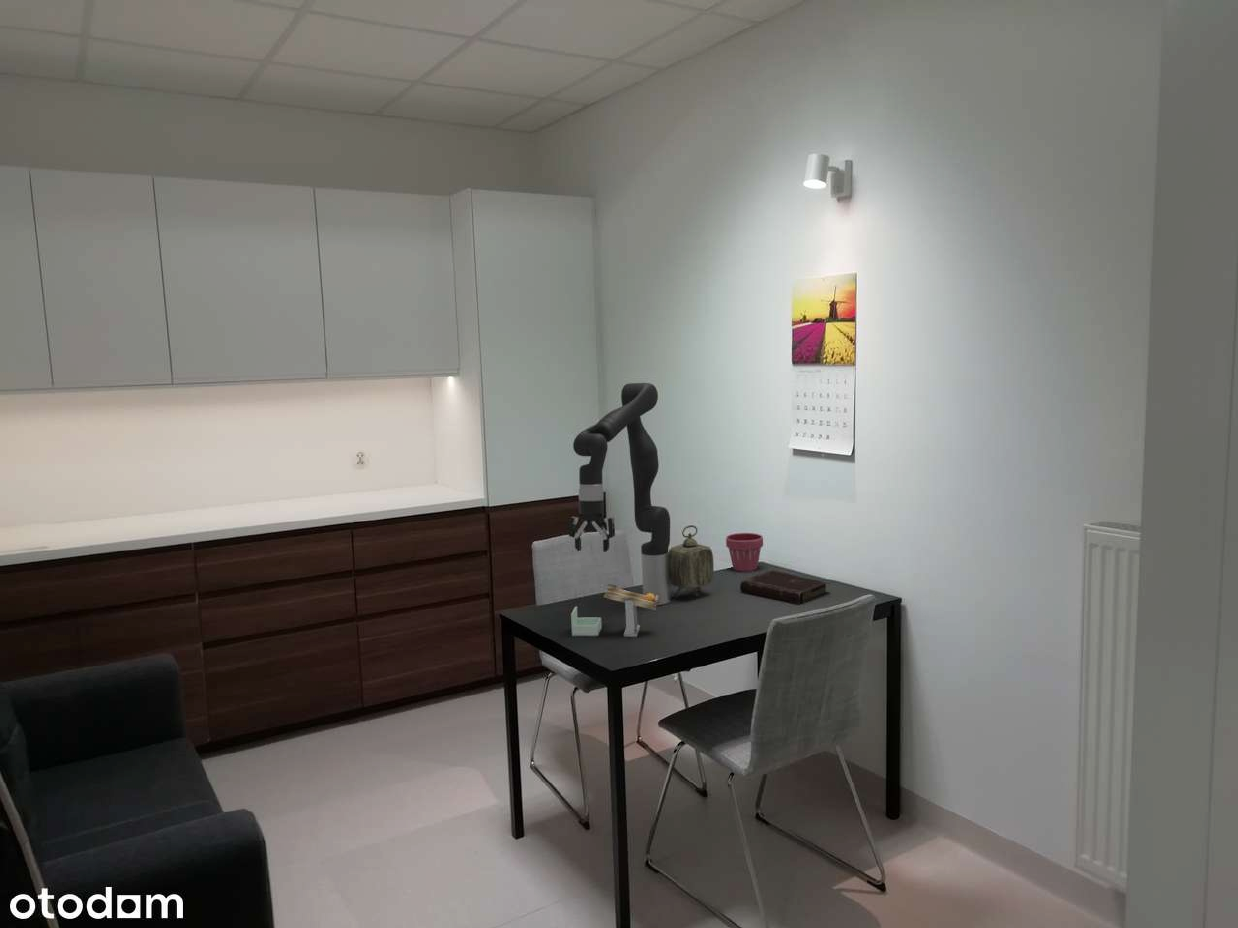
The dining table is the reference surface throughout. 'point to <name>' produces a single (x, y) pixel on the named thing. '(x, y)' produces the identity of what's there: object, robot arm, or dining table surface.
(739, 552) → the plant pot
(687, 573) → the tabletop clock
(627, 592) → the lever
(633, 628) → the fulcrum
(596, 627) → the pale green cubby shelf
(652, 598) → the ball
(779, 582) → the diary
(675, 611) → the dining table surface
